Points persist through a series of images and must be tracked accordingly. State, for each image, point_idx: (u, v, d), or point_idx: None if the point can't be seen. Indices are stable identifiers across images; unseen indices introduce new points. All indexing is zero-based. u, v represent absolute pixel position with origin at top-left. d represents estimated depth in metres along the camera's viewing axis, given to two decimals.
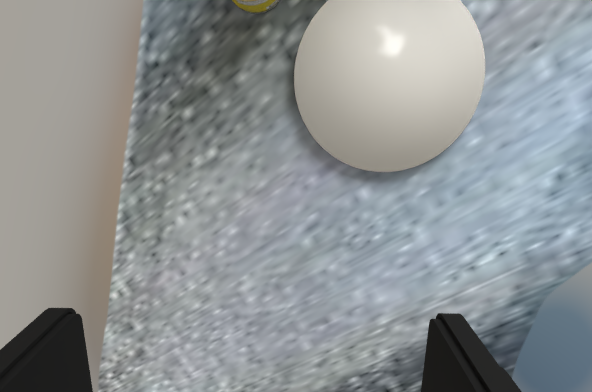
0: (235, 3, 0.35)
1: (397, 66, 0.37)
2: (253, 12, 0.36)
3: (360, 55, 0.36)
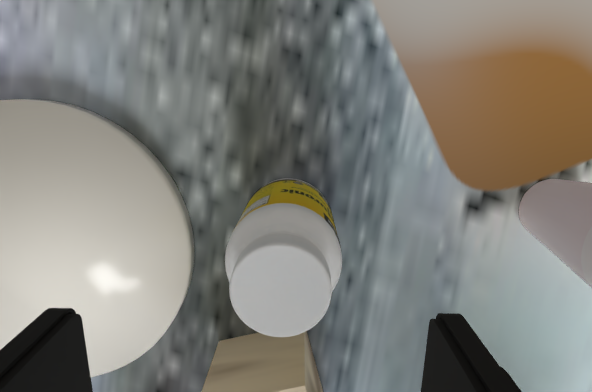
0: (285, 183, 0.22)
1: (46, 272, 0.24)
2: (260, 188, 0.23)
3: (96, 248, 0.23)
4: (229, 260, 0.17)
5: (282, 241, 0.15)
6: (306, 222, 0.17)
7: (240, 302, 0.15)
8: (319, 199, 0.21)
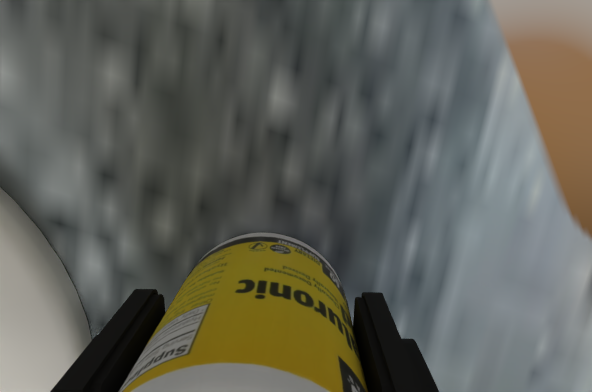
0: (253, 253, 0.11)
1: None
2: (206, 257, 0.12)
3: None
4: None
5: None
6: None
7: None
8: (325, 295, 0.10)
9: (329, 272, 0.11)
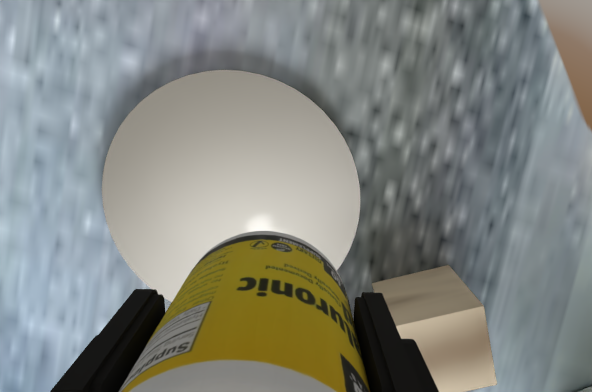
0: (254, 250, 0.10)
1: (235, 222, 0.28)
2: (207, 255, 0.11)
3: (280, 200, 0.27)
4: None
5: None
6: None
7: None
8: (326, 292, 0.10)
9: (330, 270, 0.11)
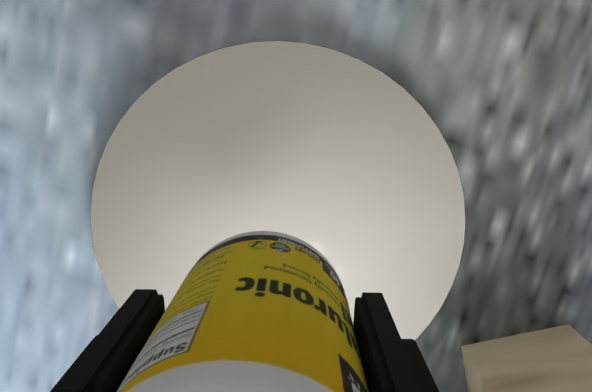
0: (253, 251, 0.10)
1: None
2: (205, 255, 0.11)
3: (349, 235, 0.19)
4: None
5: None
6: None
7: None
8: (325, 293, 0.10)
9: (329, 270, 0.11)
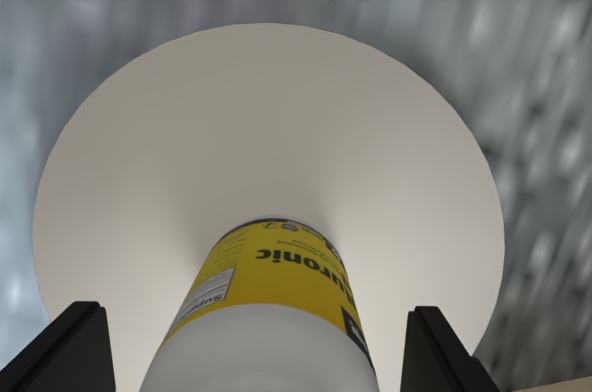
0: (267, 230, 0.12)
1: None
2: (225, 236, 0.13)
3: (359, 269, 0.15)
4: None
5: None
6: (308, 359, 0.07)
7: None
8: (328, 263, 0.12)
9: (331, 248, 0.13)
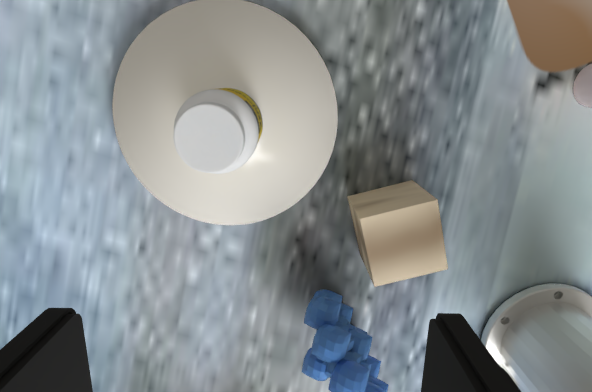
0: None
1: None
2: None
3: (269, 117, 0.31)
4: None
5: (207, 103, 0.22)
6: (229, 99, 0.24)
7: (181, 147, 0.22)
8: (247, 97, 0.28)
9: (252, 100, 0.30)
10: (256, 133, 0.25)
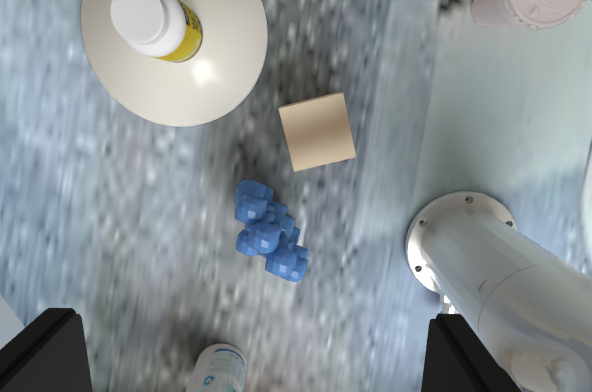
0: None
1: None
2: None
3: (210, 30, 0.38)
4: None
5: None
6: None
7: (116, 20, 0.29)
8: None
9: (192, 11, 0.36)
10: (182, 20, 0.31)
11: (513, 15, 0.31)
